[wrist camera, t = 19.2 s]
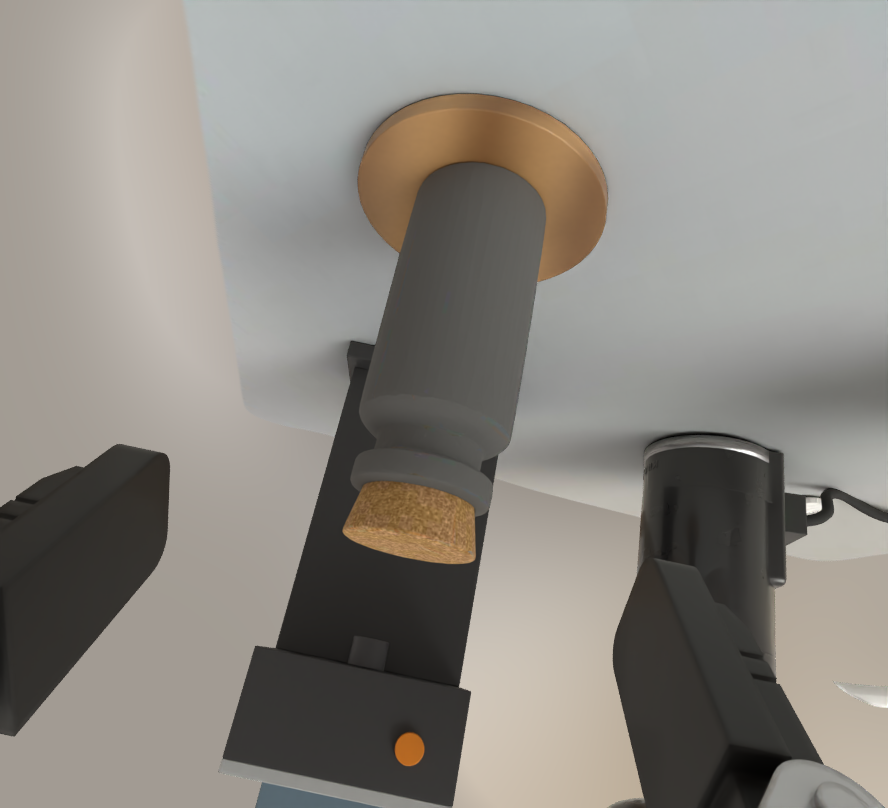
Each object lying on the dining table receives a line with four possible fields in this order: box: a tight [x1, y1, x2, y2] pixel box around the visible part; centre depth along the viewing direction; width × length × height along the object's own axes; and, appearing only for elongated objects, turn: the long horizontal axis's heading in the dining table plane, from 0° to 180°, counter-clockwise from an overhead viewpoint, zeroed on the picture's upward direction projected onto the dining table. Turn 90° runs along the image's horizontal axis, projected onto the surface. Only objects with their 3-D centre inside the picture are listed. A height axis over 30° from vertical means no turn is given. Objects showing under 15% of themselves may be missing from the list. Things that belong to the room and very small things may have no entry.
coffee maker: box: [218, 341, 498, 808], centre depth 39 cm, size 12×12×30 cm
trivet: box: [358, 94, 608, 282], centre depth 28 cm, size 11×11×1 cm
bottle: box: [343, 162, 546, 564], centre depth 25 cm, size 6×6×15 cm
